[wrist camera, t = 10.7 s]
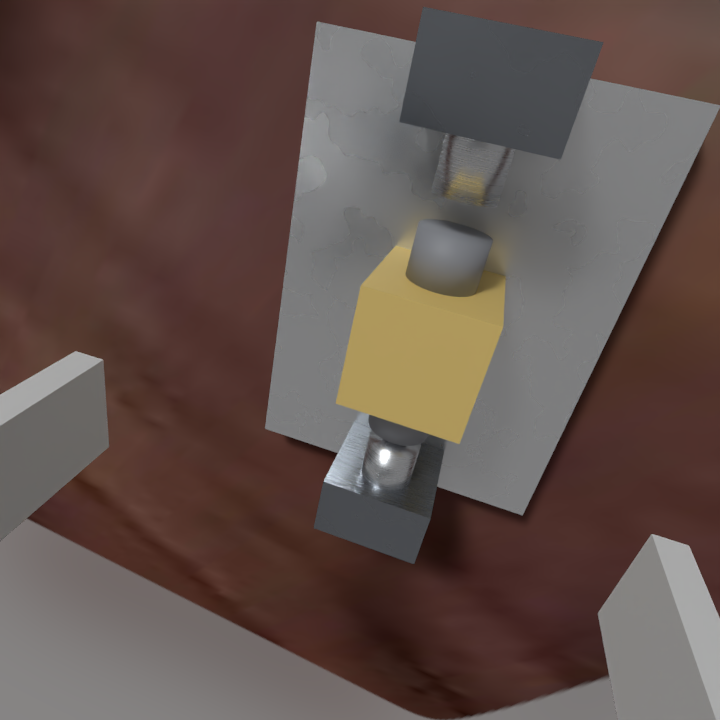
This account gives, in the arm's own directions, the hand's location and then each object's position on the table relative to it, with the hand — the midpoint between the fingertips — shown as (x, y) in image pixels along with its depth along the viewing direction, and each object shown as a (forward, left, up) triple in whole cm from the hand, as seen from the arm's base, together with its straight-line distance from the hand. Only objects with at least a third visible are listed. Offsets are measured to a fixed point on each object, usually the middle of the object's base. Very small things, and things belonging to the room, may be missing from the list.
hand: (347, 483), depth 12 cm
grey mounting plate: (0, 0, -15) cm, 15 cm away
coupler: (0, 0, -13) cm, 13 cm away
